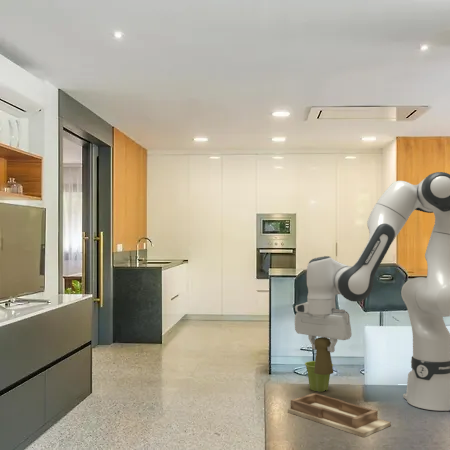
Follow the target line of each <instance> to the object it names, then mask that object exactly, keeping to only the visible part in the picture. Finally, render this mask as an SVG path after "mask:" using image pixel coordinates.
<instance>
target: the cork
mask: <svg viewBox="0 0 450 450" xmlns="http://www.w3.org/2000/svg"><path fill="white" fill-rule="evenodd" d="M330 344H331V342H330V338H325V337H317V338H315V347H316V350H315V360H314V361H315V370H314V373H316V374H320V375H328V374H330V375H333V374H334V368H333V367H334V366H333V367H332V364H333V361H332V355H331V352H328V349H327V347H328V346H330Z"/></svg>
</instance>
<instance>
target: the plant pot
mask: <svg viewBox="0 0 450 450" xmlns="http://www.w3.org/2000/svg"><path fill="white" fill-rule="evenodd" d="M304 366H305V369H306V370H307V378H308V385H309V390H311V391H314V392H316V391H318V392H319V393H321V392H322V393H323V392H325V390H326V392H327V391H329V384H330V378H331V374H328V375H320V374H316V373H314V370H315V360H311V361H306V362H304ZM332 367H334V364H333V363H332Z"/></svg>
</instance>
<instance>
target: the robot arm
mask: <svg viewBox="0 0 450 450" xmlns="http://www.w3.org/2000/svg"><path fill="white" fill-rule="evenodd" d="M414 211H419V212H423V213H428V214H431V213H432V214H434V226H433V227H432V231H431V234H430V238H429V240H428V243H427V247H426V249H425V253H424V258H425V260H426V263H427V273H426V277H424V276H423V277H422V276H421V277H420V276H419V277H414V278H411V279H409V280H407V281H406V282H404V283H403V285H402V287H401V293H400V294H401V298H402V300H403V302H404V304H405V306H406V308H407V314H408V316H409V320H410V325H411V332H412V356H411V359H410V364H411V366H410V367H411V371H409V372H408V374H407V384H406V393H403V395H402V398H403V399H405V400H406V401H407V403H408V404H409V405H411V406H413V407H416V408H419V409H424V410H429V411H445V412H447V411H448V412H449V411H450V331H449V329H448V328H447V325H446V323H445V320H444V318H445V317H450V173H447V172H443V171H438V172H437V171H436V172H433V173H431V174H429V175H427V176H426V177H425V178H423V179H422V180H421V181H419V183H418V184H412V183H411V182H408V181H405V180H397V181H396V180H395V181H394V182H392V183H391V184H390V185H389V187H387V188H386V190H385V191H384V192H383V193H382V194H381V196H380V197H379V199H378V200H377V202H376V203H375V204H374V206H373V208H372V209H371V212H370V213H369V216H368V219H367V222H366V225H367V229H368V233H369V236H368V240H367V243H366V245H365V247H364V249H363V250H362V252H361V254H360V255H359V257H358V259H357V261H356V262H355V263H354V264H353V265H352V266H351V265H348V264H345V263H343V262H342V263H341V262H339V261H338V260H336V259H334V258H332V256H328V255H327V256H326V255H324V256H319V257H315V258H312V259H311V260H309V262H308V263H307V268H306V286H307V292H308V293H307V297H306V298H307V301H305V302H303V303H300V304H296V305H295V306H294V310H295V312H296V313H295V315H294V331H295V332H296V334H299V335H306V336H308V337H307V338H308V340H309V342H310V345H311V349H312V350H315V351H316V347H315V340H316V339H317V338H320V337H325V338H329V339H330V342H331V344H330V346H328V347H327V349H328V352H330V353H335V349H336V344H337V343H338V341H339V340H340V341H346V340H350V339H351V338H352V326H351V321H350V318H351V317H350V314H349V313H348V311H346V310H345V309H344V308H343V309H339V308H336V296H337V295H341V296H342V297H343V298H344V299H346V300H348V301H351V302H360V301H364V300H365V299H367V298H368V297H369V296H370V294H371V292H372V290H373V288H374V287H373V286H374V279H375V275H376V272H377V271H378V269H379V267H380V265H381V263H382V262H383V260H384V257H386V254H387V252H388V251H389V249H390V247H391V246H392V243H393V242H394V241H395V239H396V237H397V236H398V235H399V233H400V232H401V231H402V229H403V228H404V226H405V224H406V223H407V221H408V219H409V218H410V216H411V215H412V213H414ZM316 337H317V338H316Z"/></svg>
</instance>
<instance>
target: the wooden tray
mask: <svg viewBox="0 0 450 450" xmlns="http://www.w3.org/2000/svg"><path fill="white" fill-rule="evenodd" d="M287 413H289V414H292V415H293V416H294V415H295V416H298V417H301V418H303V419H307V420H310V421H313V422H316V423H318V424H319V423H320V424H322V425H326V426H328V427H331V428H335V429H337V430H341V431H344V432H346V433H350V434H353V435H356V436H359V437H362V438H365V437H367V436H370V435H372V434H375V433H377V432H379V431H382V430H383V429H386V428H389V427H390V426H391V425H392V424H391V423H392V422H391V421H388V420H385V419H382V418H378V415H379V414H378V413H379V412H378V410H375V409H372V408H368V407H365V406H362V405H361V406H360V405H357V404H353V403H351V402H347V401H345V400H341V399H338V398H335V397H331V396H327V395H324V394H321V393H317V392H314V393H309V394H307V395H303V396H301V397H297V398H293V399H290V407H289V408H288V409H287Z"/></svg>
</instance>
